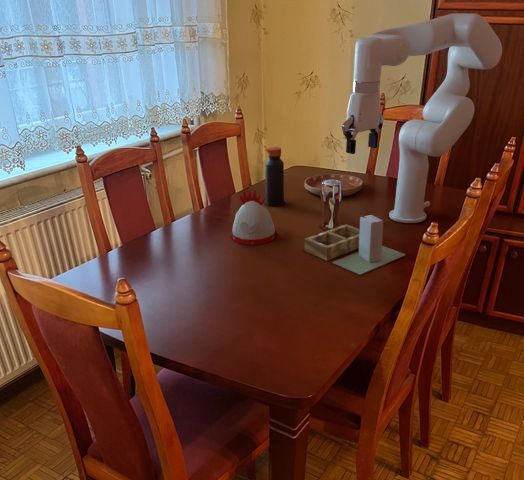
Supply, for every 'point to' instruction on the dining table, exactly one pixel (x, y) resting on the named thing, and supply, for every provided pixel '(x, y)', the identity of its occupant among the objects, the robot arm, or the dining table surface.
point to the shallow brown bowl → (348, 182)
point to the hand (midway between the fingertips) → (361, 150)
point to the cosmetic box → (370, 238)
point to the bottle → (274, 177)
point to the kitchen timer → (253, 222)
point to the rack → (333, 242)
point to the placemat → (363, 266)
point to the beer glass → (330, 203)
